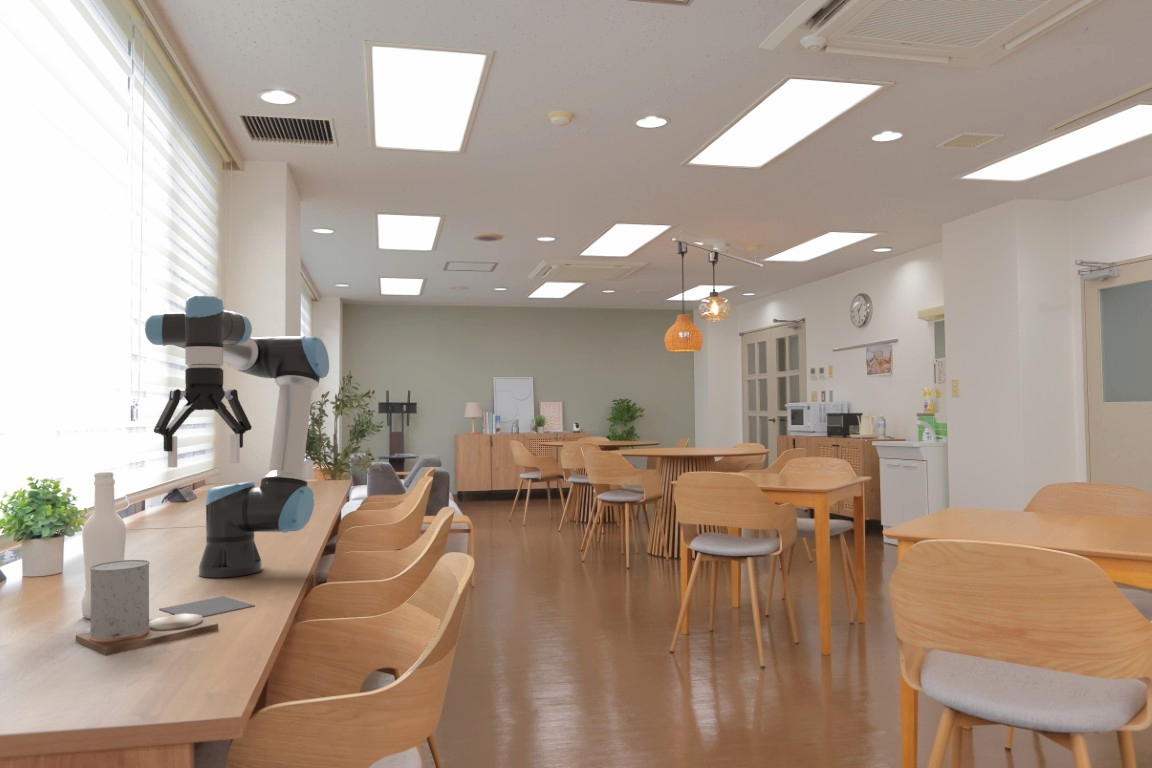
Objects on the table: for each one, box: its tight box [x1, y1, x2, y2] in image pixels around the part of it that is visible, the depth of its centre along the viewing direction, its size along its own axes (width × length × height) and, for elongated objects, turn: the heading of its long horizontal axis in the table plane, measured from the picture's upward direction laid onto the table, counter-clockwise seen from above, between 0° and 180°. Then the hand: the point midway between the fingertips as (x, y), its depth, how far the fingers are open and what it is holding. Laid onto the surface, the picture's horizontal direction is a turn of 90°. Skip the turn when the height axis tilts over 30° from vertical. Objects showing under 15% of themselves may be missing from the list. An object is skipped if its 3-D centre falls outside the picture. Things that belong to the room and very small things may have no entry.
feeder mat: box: [159, 596, 256, 618], centre depth 173 cm, size 14×14×1 cm
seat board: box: [75, 613, 219, 656], centre depth 152 cm, size 20×14×2 cm
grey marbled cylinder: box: [90, 559, 151, 639], centre depth 148 cm, size 10×10×12 cm
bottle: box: [81, 470, 127, 620], centre depth 168 cm, size 8×8×30 cm
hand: (204, 465), depth 174 cm, fingers open, 13 cm apart
